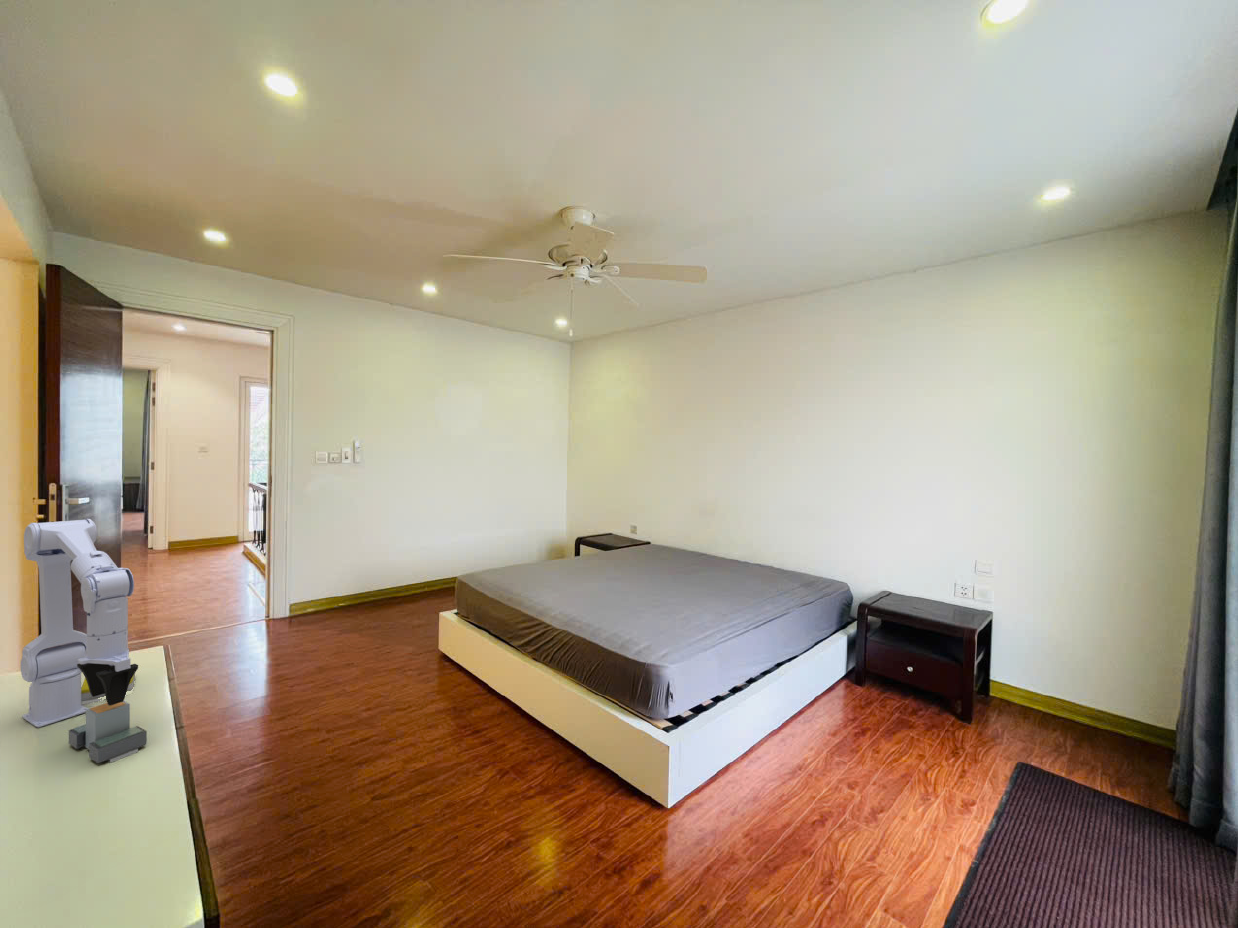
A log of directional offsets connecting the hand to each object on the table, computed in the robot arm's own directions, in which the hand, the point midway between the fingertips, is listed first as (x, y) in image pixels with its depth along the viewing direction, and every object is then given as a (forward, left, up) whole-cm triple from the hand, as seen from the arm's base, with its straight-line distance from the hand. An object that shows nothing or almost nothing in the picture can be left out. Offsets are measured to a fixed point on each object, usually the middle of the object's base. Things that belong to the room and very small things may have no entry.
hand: (107, 698), depth 99 cm
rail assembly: (0, 0, -10) cm, 10 cm away
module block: (0, 0, -9) cm, 9 cm away
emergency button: (-33, +11, -10) cm, 37 cm away
